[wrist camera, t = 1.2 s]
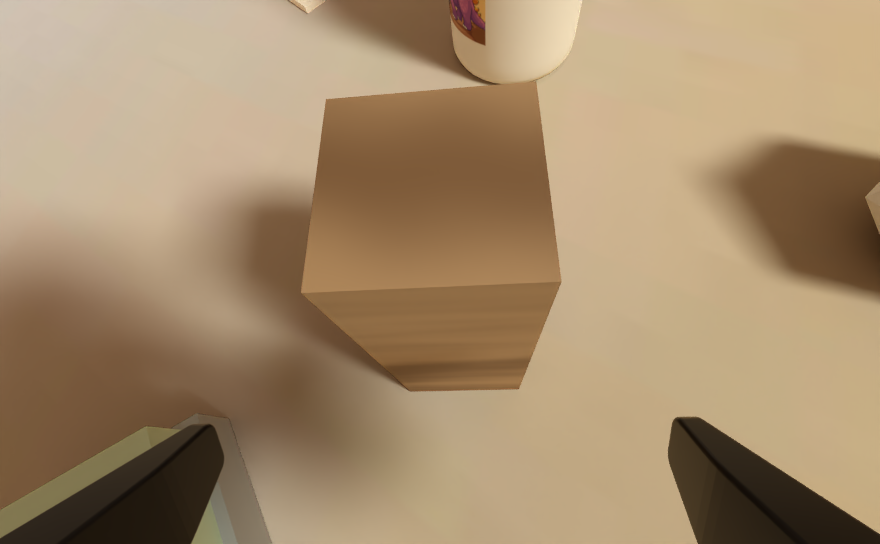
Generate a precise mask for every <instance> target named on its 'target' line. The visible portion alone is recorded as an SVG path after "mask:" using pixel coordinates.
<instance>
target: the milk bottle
mask: <svg viewBox="0 0 880 544" xmlns="http://www.w3.org/2000/svg"><path fill="white" fill-rule="evenodd" d="M581 4H582V0H449V6H450V17H451V28H452V38H453V45H454V50H455V53H456V55H457V57H458V59H459V60H460V62H461V63H462V64H463V66H464V67H465V68H466V69H467V70H468V71H469V72H471V73H472V74H473V75H475V76H477V77H479V78H481V79H483V80H486V81H489V82H492V83H499V84H512V83H523V82H531V81H534V80H537V79H540V78H542V77H544V76H546V75H548V74H550V73H551V72H552V71H554V70H555V69H556V68H558V66H559V65H560V64H561V63H562V62H563V61H564V60H565V58H566V57H567V55H568V54H569V52H570V50H571V48H572V45H573V42H574V37H575V33H576V29H577V24H578V19H579V14H580V9H581Z"/></svg>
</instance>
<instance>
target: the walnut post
mask: <svg viewBox="0 0 880 544" xmlns="http://www.w3.org/2000/svg"><path fill="white" fill-rule="evenodd" d="M560 284H561V275H560V267H559V259H558V251H557V243H556V235H555V227H554V219H553V211H552V203H551V196H550V188H549V180H548V172H547V164H546V156H545V148H544V140H543V132H542V124H541V116H540V108H539V100H538V92H537V84H536V81H535V82H523V83H512V84H500V85H488V86H477V87H465V88H453V89H442V90H430V91H418V92H406V93H395V94H383V95H371V96H360V97H348V98H336V99H326V104H325V111H324V119H323V127H322V134H321V142H320V150H319V157H318V165H317V173H316V180H315V188H314V196H313V203H312V211H311V219H310V226H309V234H308V242H307V249H306V257H305V265H304V272H303V280H302V288H301V294H302V295H304V296H305V297H306V298H307V299H308V300H309V301H310V302H311V303H312V304H314V305H315V306H316V307H317V308H318V309H319V310H320V311H321V312H323V313H324V314H325V315H326V316H327V317H328V318H329V319H330V320H331V321H333V322H334V323H335V324H336V325H337V326H338V327H339V328H340V329H341V330H343V331H344V332H345V333H346V334H347V335H348V336H349V337H350V338H352V339H353V340H354V341H355V342H356V343H357V344H358V345H359V346H360V347H362V348H363V349H364V350H365V351H366V352H367V353H368V354H369V355H370V356H372V357H373V358H374V359H375V360H376V361H377V362H378V363H379V364H380V365H382V366H383V367H384V368H385V369H386V370H387V371H388V372H389V373H391V374H392V375H393V376H394V377H395V378H396V379H397V380H398V381H399V382H401V383H402V384H403V385H404V386H405V387H406V388H407V389H408V390H409V391H453V390H500V389H519V387H520V385H521V382H522V380H523V377H524V375H525V372H526V370H527V367H528V364H529V362H530V359H531V357H532V354H533V352H534V349H535V347H536V344H537V342H538V339H539V337H540V334H541V332H542V329H543V327H544V324H545V322H546V319H547V317H548V314H549V312H550V309H551V307H552V304H553V301H554V299H555V296H556V294H557V291H558V289H559V286H560Z"/></svg>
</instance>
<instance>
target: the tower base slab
mask: <svg viewBox="0 0 880 544" xmlns="http://www.w3.org/2000/svg"><path fill="white" fill-rule="evenodd" d="M191 424H212V425H213V426H214V427H215V429H216V431H217V434H218V437H219V440H220V443H221V446H222V449H223V452H224V465H223V468H222V471H221V473H220V476H219V478H218V481H217V483H216V485H215V488H214V490H213V493H212V495H211V498H210V502H211V505H212V508H213V512H214V515H215V518H216V522H217V525H218V528H219V532H220V535H221V538H222V541H223V544H272V542H271V539H270V536H269V533H268V531H267V528H266V525H265V522H264V519H263V516H262V513H261V510H260V507H259V505H258V502H257V499H256V496H255V493H254V490H253V487H252V484H251V481H250V479H249V476H248V473H247V470H246V467H245V464H244V461H243V458H242V455H241V453H240V450H239V447H238V444H237V441H236V438H235V435H234V432H233V430H232V427H231V424H230V421H229V419H228V418H222V417H216V416H210V415H204V414H198V413H196V414H194V415H193V416H191V417H189V418H188V419H186V420H184V421H182V422H181V423H179V424H177V425H175V426H174V427H172V428H170V429H179V430H182V429H184V428H186V427H187V426H189V425H191Z"/></svg>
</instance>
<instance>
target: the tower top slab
mask: <svg viewBox="0 0 880 544" xmlns="http://www.w3.org/2000/svg"><path fill="white" fill-rule="evenodd" d="M179 431H180V430H179V429H170V428H160V427H150V426H145V427H143V428H142V429H140V430H138V431H136V432H135V433H133V434H131V435H129V436H128V437H126V438H124V439H122V440H121V441H119V442H117V443H115V444H114V445H112V446H110V447H109V448H107V449H105V450H103V451H102V452H100V453H98V454H96V455H95V456H93V457H91V458H89V459H88V460H86V461H84V462H82V463H81V464H79V465H77V466H76V467H74V468H72V469H70V470H69V471H67V472H65V473H63V474H62V475H60V476H58V477H56V478H55V479H53V480H51V481H49V482H48V483H46V484H44V485H43V486H41V487H39V488H37V489H36V490H34V491H32V492H30V493H29V494H27V495H25V496H23V497H22V498H20V499H18V500H16V501H15V502H13V503H11V504H10V505H8V506H6V507H4V508H3V509H1V510H0V538H1V537H3V536H4V535H6V534H8V533H9V532H11V531H13V530H14V529H16V528H18V527H19V526H21V525H23V524H25V523H26V522H28V521H30V520H31V519H33V518H35V517H36V516H38V515H40V514H41V513H43V512H45V511H46V510H48V509H50V508H51V507H53V506H55V505H56V504H58V503H60V502H61V501H63V500H65V499H66V498H68V497H70V496H71V495H73V494H75V493H77V492H78V491H80V490H82V489H83V488H85V487H87V486H88V485H90V484H92V483H93V482H95V481H97V480H98V479H100V478H102V477H103V476H105V475H107V474H108V473H110V472H112V471H113V470H115V469H117V468H118V467H120V466H122V465H123V464H125V463H127V462H128V461H130V460H132V459H134V458H135V457H137V456H139V455H140V454H142V453H144V452H145V451H147V450H149V449H150V448H152V447H154V446H155V445H157V444H159V443H160V442H162V441H164V440H165V439H167V438H169V437H170V436H172V435H174V434H175V433H177V432H179ZM191 544H223V541H222V538H221V535H220V532H219V528H218V525H217V522H216V518H215V515H214V512H213V508H212V505H211V502H210V500H209V503H208V505H207V508H206V510H205V512H204V515H203V517H202V520H201V522H200V525H199V527H198V530H197V532H196V534H195V536H194V539H193V541H192V543H191Z"/></svg>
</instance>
